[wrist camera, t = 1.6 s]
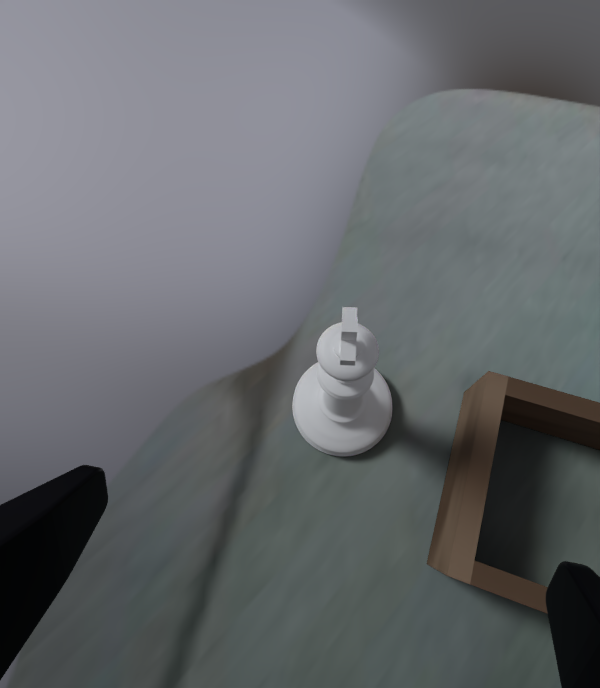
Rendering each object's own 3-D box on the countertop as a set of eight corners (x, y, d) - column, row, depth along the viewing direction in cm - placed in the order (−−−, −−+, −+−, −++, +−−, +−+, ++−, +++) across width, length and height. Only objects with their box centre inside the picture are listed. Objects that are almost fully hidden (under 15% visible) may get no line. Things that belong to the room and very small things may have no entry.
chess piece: (392, 361, 22) (437, 251, 12) (392, 460, 20) (444, 418, 11) (296, 356, 22) (271, 247, 13) (288, 452, 20) (252, 406, 11)
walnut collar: (626, 638, 17) (697, 670, 14) (426, 563, 18) (447, 575, 15) (640, 444, 19) (703, 432, 16) (464, 392, 21) (488, 370, 18)
